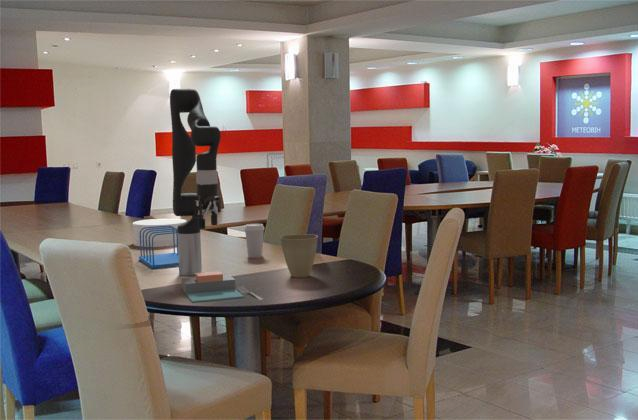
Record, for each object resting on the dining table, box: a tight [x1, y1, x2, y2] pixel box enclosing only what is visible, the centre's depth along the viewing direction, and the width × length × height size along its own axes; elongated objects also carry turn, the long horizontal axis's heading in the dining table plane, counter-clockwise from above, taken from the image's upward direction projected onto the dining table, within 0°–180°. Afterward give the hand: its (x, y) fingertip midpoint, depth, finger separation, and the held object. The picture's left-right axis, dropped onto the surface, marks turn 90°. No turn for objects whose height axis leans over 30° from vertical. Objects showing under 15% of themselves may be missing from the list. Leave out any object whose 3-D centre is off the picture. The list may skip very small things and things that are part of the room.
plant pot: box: [280, 233, 319, 278], centre depth 278 cm, size 15×15×16 cm
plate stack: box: [132, 218, 188, 248], centre depth 370 cm, size 28×28×12 cm
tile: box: [194, 270, 224, 283], centre depth 254 cm, size 6×9×2 cm, turn 110°
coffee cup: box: [243, 223, 266, 259], centre depth 323 cm, size 10×10×15 cm
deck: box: [180, 274, 236, 295], centre depth 256 cm, size 10×18×4 cm, turn 110°
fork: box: [235, 285, 264, 301], centre depth 245 cm, size 3×24×2 cm, turn 31°
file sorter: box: [138, 225, 179, 270], centre depth 312 cm, size 25×17×15 cm
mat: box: [185, 288, 244, 303], centre depth 245 cm, size 12×18×1 cm, turn 110°
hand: (208, 227), depth 251 cm, fingers open, 8 cm apart
